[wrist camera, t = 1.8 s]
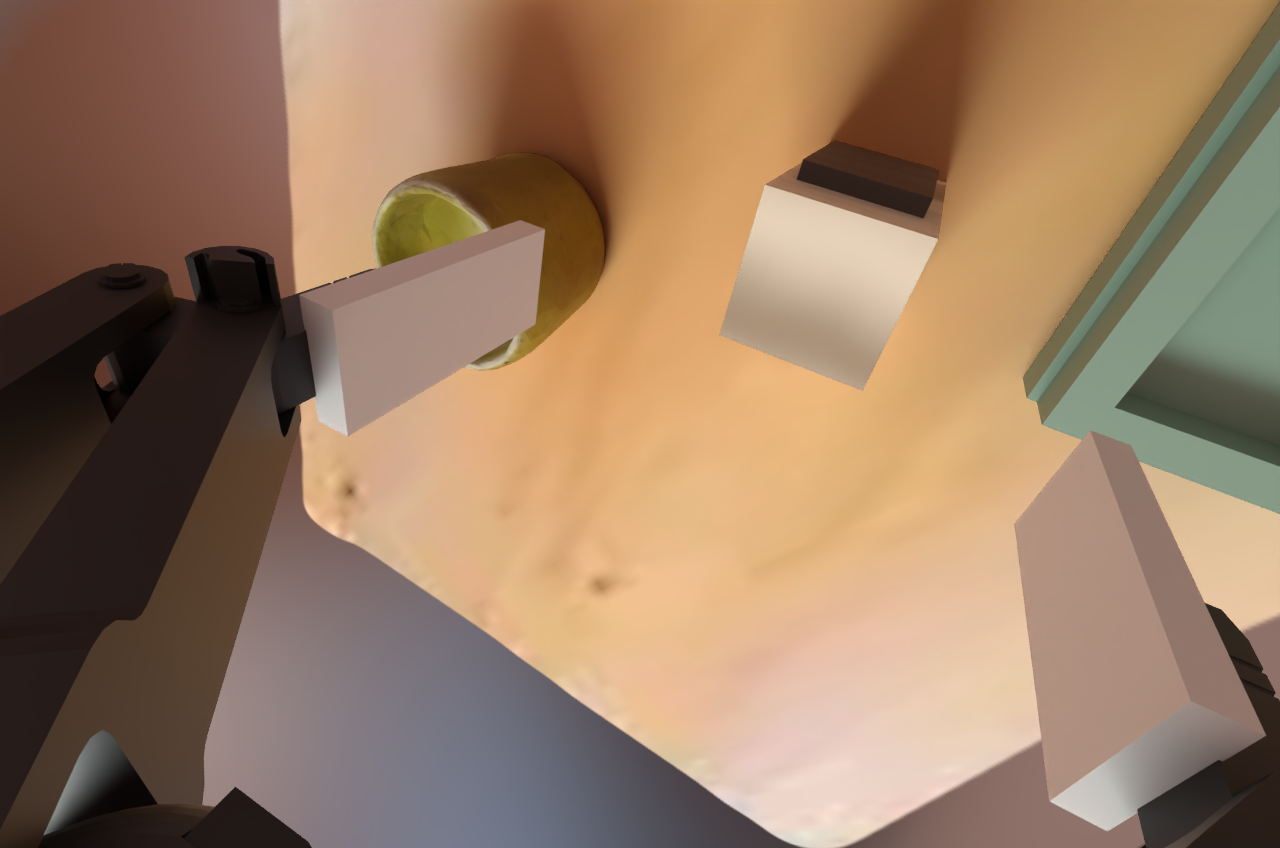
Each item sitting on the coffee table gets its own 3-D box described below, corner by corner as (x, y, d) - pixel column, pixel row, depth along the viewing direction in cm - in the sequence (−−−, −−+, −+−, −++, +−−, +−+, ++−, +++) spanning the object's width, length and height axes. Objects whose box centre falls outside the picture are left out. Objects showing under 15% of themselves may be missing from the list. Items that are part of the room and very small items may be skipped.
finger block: (831, 132, 25) (771, 163, 17) (953, 166, 23) (949, 217, 16) (786, 260, 28) (719, 335, 20) (891, 296, 27) (862, 390, 19)
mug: (548, 68, 26) (405, 187, 21) (661, 257, 32) (569, 387, 27) (416, 159, 35) (291, 261, 30) (524, 297, 40) (433, 402, 35)
